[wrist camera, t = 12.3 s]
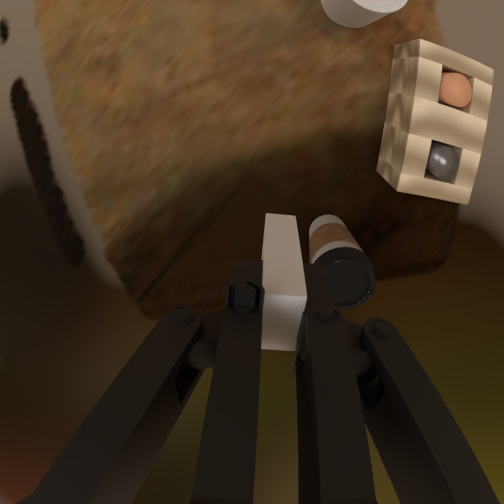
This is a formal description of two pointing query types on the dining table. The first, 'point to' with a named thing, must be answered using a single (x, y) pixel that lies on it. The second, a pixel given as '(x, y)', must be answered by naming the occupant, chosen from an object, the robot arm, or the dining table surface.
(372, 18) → the cup
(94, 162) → the dining table surface
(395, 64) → the birch block
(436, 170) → the peg steel
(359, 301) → the coffee cup
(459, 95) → the peg terracotta
